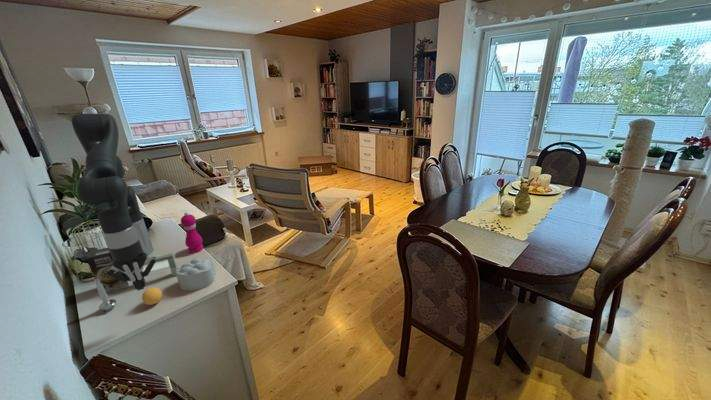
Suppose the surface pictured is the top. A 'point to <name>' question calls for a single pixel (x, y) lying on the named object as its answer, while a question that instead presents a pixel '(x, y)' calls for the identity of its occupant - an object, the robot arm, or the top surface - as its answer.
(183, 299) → the top surface
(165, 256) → the bridge
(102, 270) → the coffee box
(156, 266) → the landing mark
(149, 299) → the ball
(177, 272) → the lumpy-topped squat cylinder
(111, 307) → the screw
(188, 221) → the pepper mill
